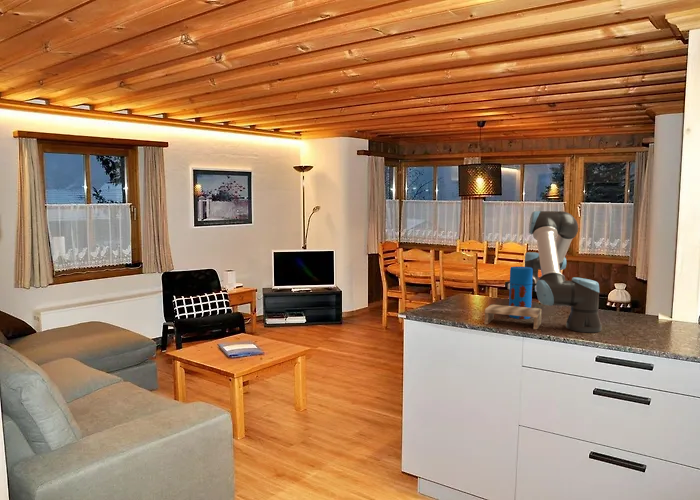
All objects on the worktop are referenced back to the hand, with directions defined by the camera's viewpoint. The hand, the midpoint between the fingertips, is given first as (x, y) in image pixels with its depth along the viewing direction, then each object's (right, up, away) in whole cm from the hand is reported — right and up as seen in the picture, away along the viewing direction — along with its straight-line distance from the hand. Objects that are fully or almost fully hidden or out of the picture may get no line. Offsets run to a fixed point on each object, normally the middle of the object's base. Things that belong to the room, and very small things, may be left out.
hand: (522, 287), depth 288 cm
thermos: (-3, -14, -7) cm, 16 cm away
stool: (-11, -16, -22) cm, 29 cm away
